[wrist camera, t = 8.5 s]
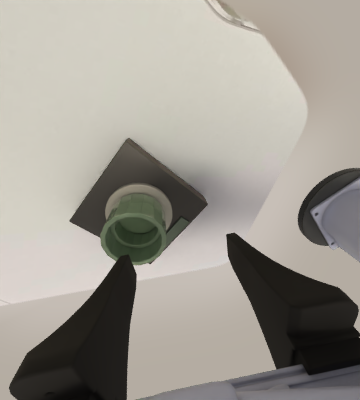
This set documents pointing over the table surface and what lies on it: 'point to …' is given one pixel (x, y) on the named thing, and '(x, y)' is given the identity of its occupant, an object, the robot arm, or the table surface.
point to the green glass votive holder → (135, 229)
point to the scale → (139, 192)
